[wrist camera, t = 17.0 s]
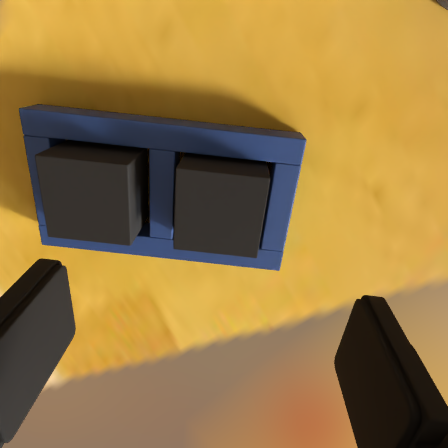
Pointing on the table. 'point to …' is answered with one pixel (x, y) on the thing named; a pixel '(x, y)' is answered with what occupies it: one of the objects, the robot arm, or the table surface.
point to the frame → (172, 172)
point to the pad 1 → (94, 191)
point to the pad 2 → (220, 204)
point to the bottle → (443, 3)
